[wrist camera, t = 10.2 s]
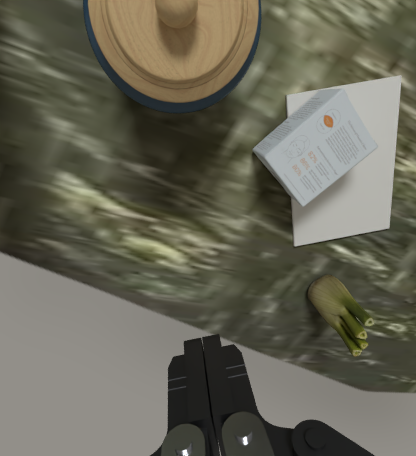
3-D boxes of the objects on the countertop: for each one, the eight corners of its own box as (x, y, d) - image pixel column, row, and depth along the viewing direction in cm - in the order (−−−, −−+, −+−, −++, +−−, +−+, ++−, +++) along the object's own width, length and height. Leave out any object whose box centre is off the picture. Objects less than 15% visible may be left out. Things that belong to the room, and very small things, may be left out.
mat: (285, 95, 37) (286, 95, 37) (399, 75, 38) (401, 75, 37) (293, 245, 45) (294, 246, 45) (387, 227, 46) (389, 228, 45)
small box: (286, 195, 42) (353, 141, 40) (303, 208, 37) (380, 147, 35) (250, 148, 39) (321, 87, 37) (262, 156, 34) (345, 86, 32)
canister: (219, 118, 37) (258, 134, 21) (107, 96, 35) (53, 96, 19) (244, -12, 33) (317, -118, 17) (116, -47, 31) (56, -208, 14)
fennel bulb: (323, 264, 47) (369, 316, 36) (345, 280, 49) (396, 333, 38) (297, 292, 48) (334, 350, 37) (319, 306, 50) (361, 366, 39)
